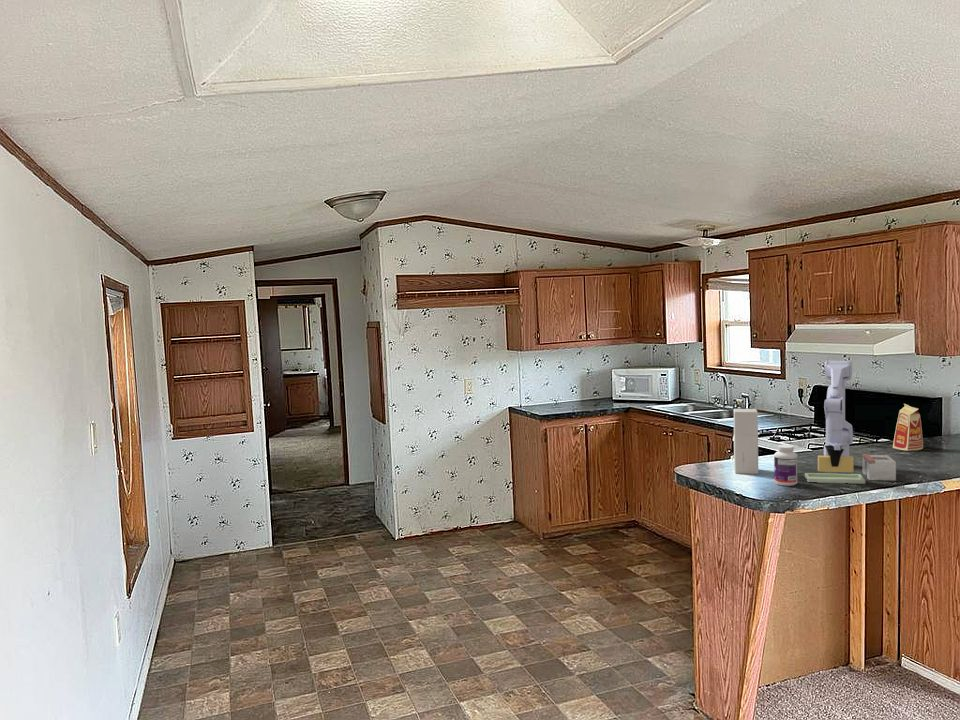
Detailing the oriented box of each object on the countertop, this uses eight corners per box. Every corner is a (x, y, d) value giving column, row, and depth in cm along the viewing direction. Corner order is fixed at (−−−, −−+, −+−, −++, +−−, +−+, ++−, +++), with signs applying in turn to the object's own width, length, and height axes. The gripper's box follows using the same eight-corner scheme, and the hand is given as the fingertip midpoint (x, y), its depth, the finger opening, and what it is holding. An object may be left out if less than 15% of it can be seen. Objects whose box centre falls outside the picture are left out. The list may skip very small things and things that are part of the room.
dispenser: (869, 479, 292) (869, 460, 292) (862, 472, 305) (862, 453, 304) (895, 480, 290) (895, 461, 289) (887, 472, 302) (887, 454, 302)
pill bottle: (778, 480, 297) (778, 443, 295) (800, 483, 291) (800, 445, 290) (771, 484, 290) (770, 446, 289) (793, 487, 285) (793, 448, 284)
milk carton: (892, 447, 349) (892, 403, 347) (908, 446, 352) (908, 402, 350) (909, 451, 340) (909, 406, 339) (925, 449, 343) (925, 404, 341)
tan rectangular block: (818, 471, 293) (818, 457, 293) (817, 469, 296) (817, 455, 296) (853, 472, 290) (853, 458, 290) (851, 470, 293) (852, 456, 293)
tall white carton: (735, 473, 311) (734, 411, 309) (734, 468, 319) (733, 408, 317) (758, 474, 308) (757, 411, 306) (756, 469, 317) (756, 408, 315)
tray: (808, 482, 292) (808, 478, 292) (804, 476, 301) (804, 472, 301) (865, 484, 286) (865, 480, 286) (860, 478, 296) (860, 474, 296)
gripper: (849, 433, 284) (849, 469, 285) (842, 426, 298) (842, 461, 299) (828, 433, 286) (828, 469, 287) (822, 426, 300) (822, 461, 301)
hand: (834, 465), depth 293 cm, fingers closed on tan rectangular block, 3 cm apart
